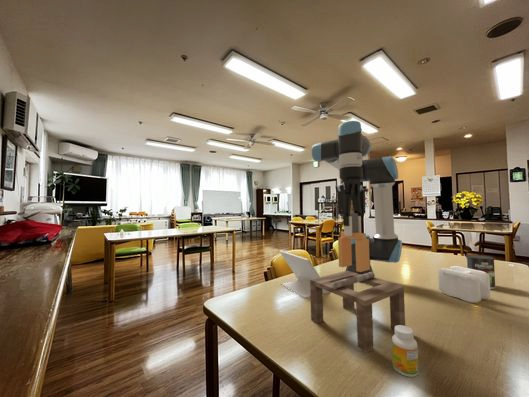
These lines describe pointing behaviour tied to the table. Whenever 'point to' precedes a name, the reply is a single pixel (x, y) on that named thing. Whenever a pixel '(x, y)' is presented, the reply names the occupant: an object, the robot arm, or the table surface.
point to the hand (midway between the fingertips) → (352, 235)
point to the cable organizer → (464, 283)
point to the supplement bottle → (405, 351)
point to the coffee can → (482, 266)
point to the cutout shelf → (359, 301)
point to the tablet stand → (300, 274)
